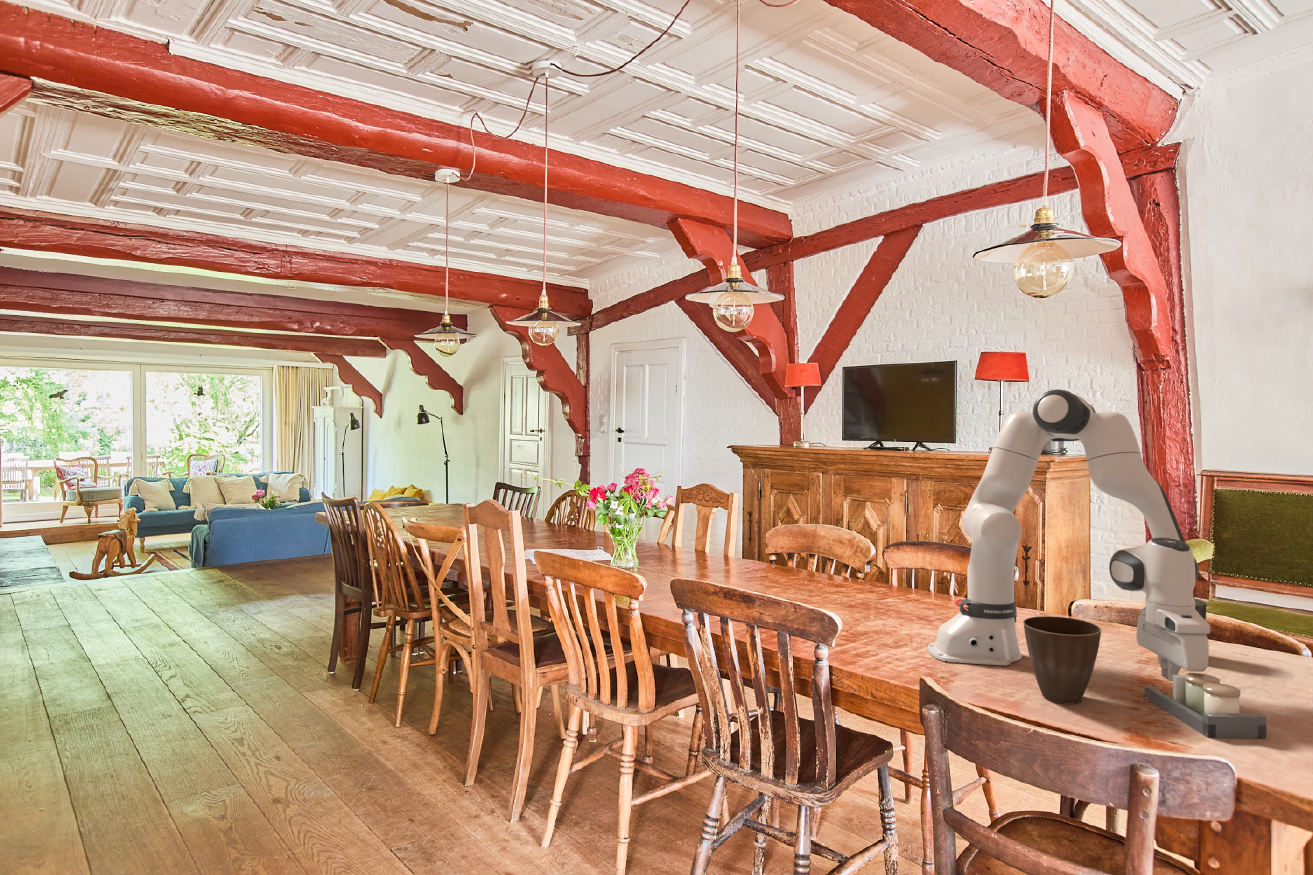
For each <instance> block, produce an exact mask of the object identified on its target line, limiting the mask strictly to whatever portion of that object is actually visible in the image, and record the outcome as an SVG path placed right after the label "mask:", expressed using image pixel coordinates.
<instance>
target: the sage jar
mask: <svg viewBox="0 0 1313 875" xmlns="http://www.w3.org/2000/svg"><path fill="white" fill-rule="evenodd" d="M1184 675H1185V680H1186V707H1188V708H1189V709H1191V710H1193V711H1194V712H1196V713H1198V714H1199V715H1201V716H1203V713H1204V690H1203V685H1204V684H1206V683H1219V684H1221V679H1220V678H1218V677H1216V676H1214V675H1210V674H1205V673H1201V672H1188V673H1184Z"/></svg>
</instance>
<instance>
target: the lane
mask: <svg viewBox="0 0 1313 875" xmlns="http://www.w3.org/2000/svg"><path fill="white" fill-rule="evenodd" d="M1145 697H1147V698H1148V699H1149V700H1148V699H1147V700H1148V701H1150V700H1151V701H1152V702H1151V701H1150V702H1151V703H1153V704H1154V703H1156V704H1157V705H1158V707H1159V708H1161V709H1162V710H1164V711H1165V712H1167V713H1168V714H1170V715H1172V716H1174V717H1175V718H1176V719H1178V720H1179V721H1181V722H1182V723H1184V724H1186V725H1188V726H1189V727H1191V728H1192V729H1193V730H1195V731H1196V732H1198V733H1200V734H1202V735H1203V736H1205V737H1206V738H1217V739H1219V738H1222V739H1225V738H1226V739H1228V738H1229V739H1267V716H1265V715H1263V714H1261V713H1257V714H1256V713H1245V712H1244V711H1241V710H1240V709H1239V714H1205V713H1203V716H1201V715H1199V714H1198V713H1196V712H1194V711H1193V710H1191V709H1189V708H1188V707H1186V706H1184V705H1183V704H1181V703H1179V702H1178V701H1176V700H1174V699H1173V697H1171V696H1169V695H1167V694H1166V693H1164V692H1163V691H1161V690H1159V689H1158V688H1156V687H1154V686H1153V685H1144V698H1145ZM1156 704H1155V705H1156ZM1157 705H1156V706H1157Z"/></svg>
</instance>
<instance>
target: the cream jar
mask: <svg viewBox="0 0 1313 875" xmlns="http://www.w3.org/2000/svg"><path fill="white" fill-rule="evenodd" d="M1203 690H1204V713H1205V714H1239V710H1240V697H1241V689H1239V688H1237V687H1235V686H1233V685H1229V684H1225V683H1220V684H1219V683H1206V684H1204V685H1203Z"/></svg>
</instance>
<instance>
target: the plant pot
mask: <svg viewBox="0 0 1313 875" xmlns="http://www.w3.org/2000/svg"><path fill="white" fill-rule="evenodd" d="M1022 623H1023V629H1024V635H1025V636H1024V637H1025V641H1026V642H1025V643H1026V647H1027V651H1028V652H1027V653H1028V656H1029V659H1030V664H1031V667H1032V670H1033V674H1034V677H1035V680H1036V682H1037V684H1038V688H1039V690H1040V693H1041V695H1042V697H1043V696H1044V697H1046V698H1047V699H1046V698H1045V699H1046V700H1048V699H1049V700H1048V701H1050V700H1052V701H1051V702H1053V701H1055V702H1054V703H1057V702H1059V703H1058V704H1063V703H1075V704H1079V703H1080V702H1081V701H1082V699H1083V697H1084V695H1085V692H1086V690H1087V687H1088V686H1089V683H1090V681H1091V680H1090V679H1091V678H1092V675H1093V672H1094V668H1095V665H1096V662H1097V657H1098V652H1099V647H1100V643H1101V642H1100V641H1101V634H1102V628H1101V627H1100V626H1099V625H1097V624H1095V623H1092V622H1089V621H1086V620H1082V619H1078V618H1071V617H1065V616H1050V615H1048V616H1046V615H1045V616H1043V615H1042V616H1032V617H1028V618H1026V619H1024V620H1023V622H1022ZM1044 697H1043V698H1044ZM1078 702H1079V703H1078Z"/></svg>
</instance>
